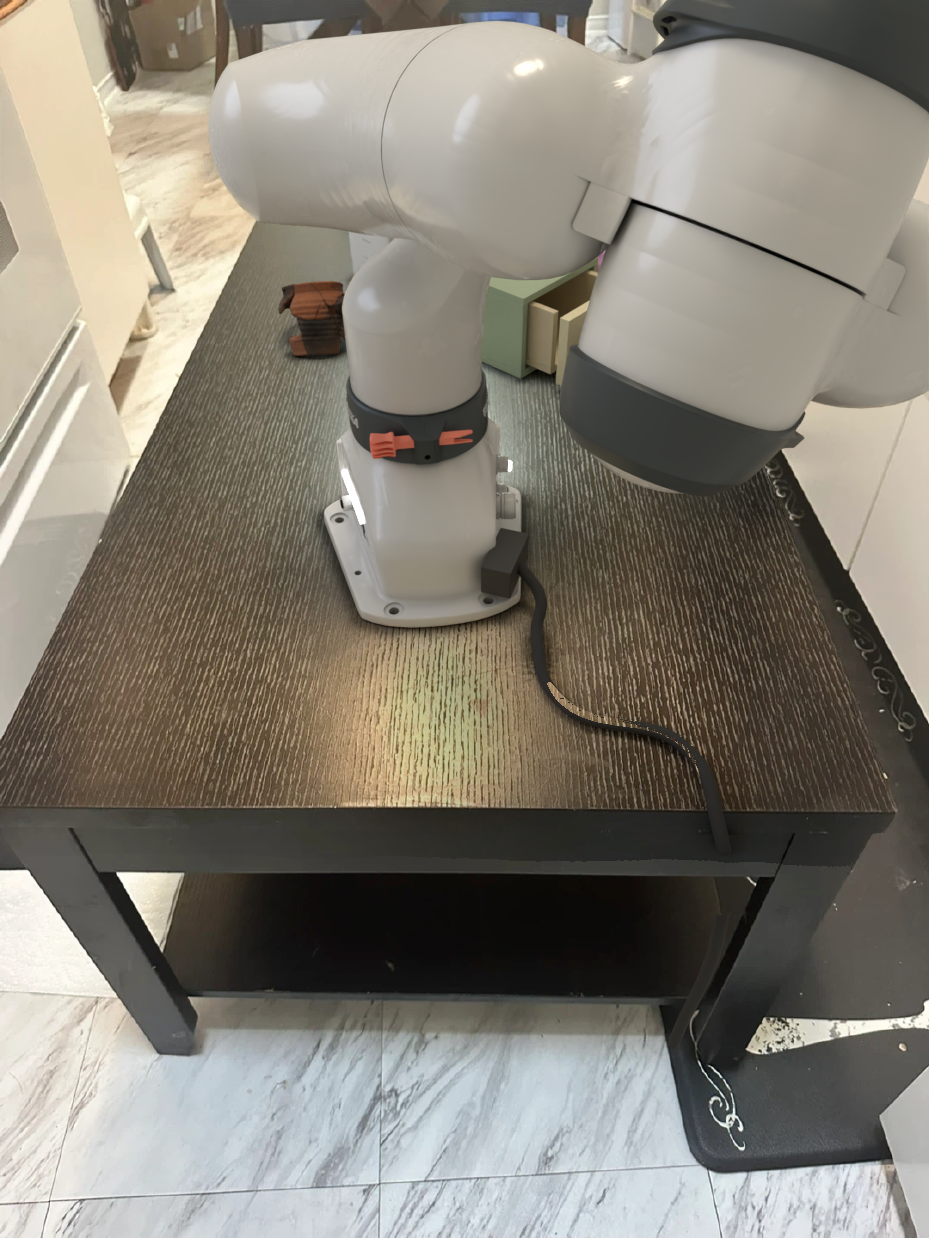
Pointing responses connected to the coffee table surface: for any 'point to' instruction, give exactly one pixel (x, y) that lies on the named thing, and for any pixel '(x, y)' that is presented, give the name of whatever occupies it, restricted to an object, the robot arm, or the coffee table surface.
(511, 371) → the cabinet
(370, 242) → the photo printer
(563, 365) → the drawer
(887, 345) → the robot arm
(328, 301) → the pottery mug
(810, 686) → the coffee table surface
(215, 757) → the coffee table surface
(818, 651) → the coffee table surface
